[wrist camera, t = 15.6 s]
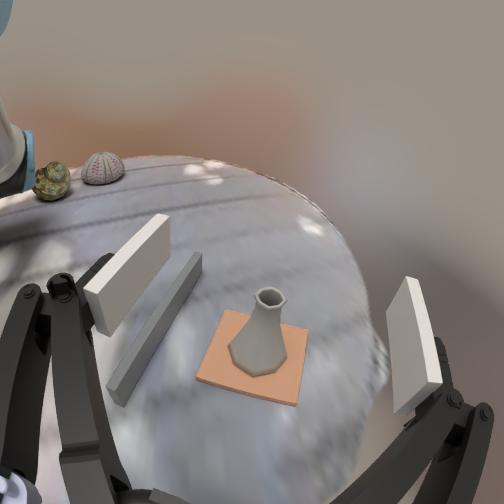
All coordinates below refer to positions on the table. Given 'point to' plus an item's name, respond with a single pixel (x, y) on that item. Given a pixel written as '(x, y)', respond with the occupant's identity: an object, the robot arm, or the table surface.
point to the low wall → (153, 333)
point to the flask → (261, 336)
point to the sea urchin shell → (102, 168)
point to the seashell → (52, 181)
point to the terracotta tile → (235, 379)
